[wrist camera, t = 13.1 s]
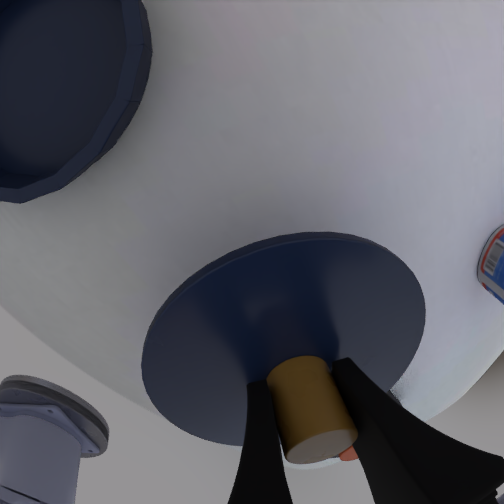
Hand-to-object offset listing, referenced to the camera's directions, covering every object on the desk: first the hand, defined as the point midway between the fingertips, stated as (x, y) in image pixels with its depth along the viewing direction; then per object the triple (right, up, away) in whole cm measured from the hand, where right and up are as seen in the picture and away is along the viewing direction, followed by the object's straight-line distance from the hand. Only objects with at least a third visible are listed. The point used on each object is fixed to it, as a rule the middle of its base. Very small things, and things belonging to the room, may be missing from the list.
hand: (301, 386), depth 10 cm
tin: (-11, +12, -1) cm, 16 cm away
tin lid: (0, 0, +1) cm, 1 cm away
